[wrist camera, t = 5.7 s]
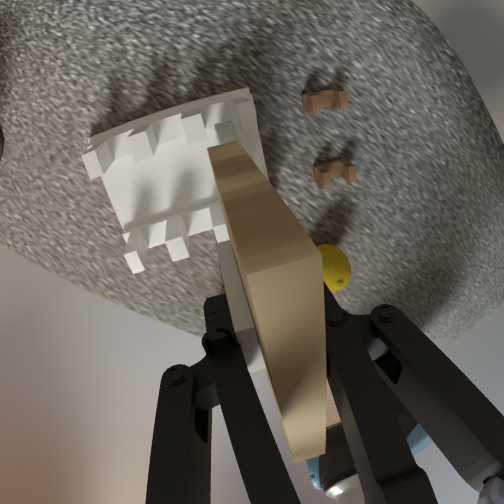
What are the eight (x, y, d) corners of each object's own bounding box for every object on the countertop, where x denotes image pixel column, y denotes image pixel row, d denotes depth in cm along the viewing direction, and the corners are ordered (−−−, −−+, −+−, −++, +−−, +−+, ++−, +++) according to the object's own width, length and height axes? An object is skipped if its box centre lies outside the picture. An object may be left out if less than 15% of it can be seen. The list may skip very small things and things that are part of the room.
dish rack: (272, 206, 40) (289, 234, 34) (134, 247, 39) (127, 281, 33) (246, 87, 32) (261, 90, 25) (90, 136, 31) (69, 152, 25)
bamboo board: (272, 311, 22) (325, 453, 13) (250, 317, 22) (293, 463, 13) (237, 140, 16) (321, 254, 7) (206, 147, 16) (245, 275, 6)
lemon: (296, 240, 43) (317, 274, 36) (334, 229, 43) (360, 260, 37) (300, 272, 46) (320, 308, 39) (336, 261, 46) (360, 295, 40)
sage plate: (246, 206, 37) (270, 258, 27) (234, 210, 37) (254, 262, 27) (223, 113, 31) (241, 131, 21) (210, 117, 31) (221, 136, 21)
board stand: (344, 173, 39) (356, 181, 37) (314, 180, 39) (324, 189, 36) (334, 88, 33) (346, 90, 31) (300, 93, 33) (310, 96, 30)
